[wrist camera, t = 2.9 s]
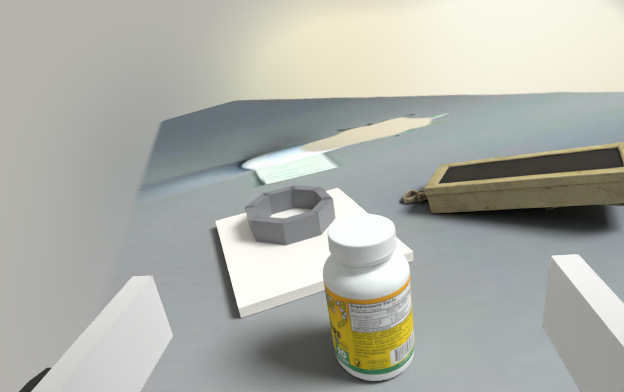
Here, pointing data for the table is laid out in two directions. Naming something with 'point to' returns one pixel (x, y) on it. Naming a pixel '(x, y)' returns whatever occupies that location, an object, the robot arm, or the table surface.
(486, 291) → the table surface
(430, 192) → the box
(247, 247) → the plate
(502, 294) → the table surface
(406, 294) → the supplement bottle
